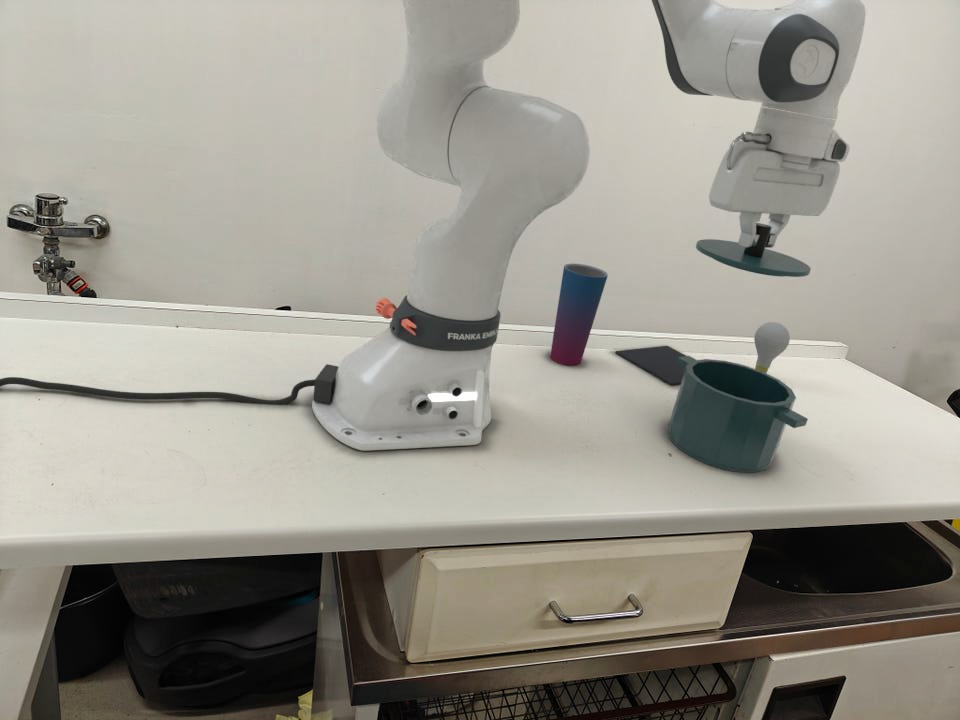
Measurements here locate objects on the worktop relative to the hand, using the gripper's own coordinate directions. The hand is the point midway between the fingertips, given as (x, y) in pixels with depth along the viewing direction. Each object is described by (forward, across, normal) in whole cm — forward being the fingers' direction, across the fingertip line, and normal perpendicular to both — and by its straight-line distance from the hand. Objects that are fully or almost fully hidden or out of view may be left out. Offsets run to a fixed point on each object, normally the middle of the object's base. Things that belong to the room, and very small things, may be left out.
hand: (755, 246), depth 94 cm
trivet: (+25, +10, +16) cm, 32 cm away
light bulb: (+26, +24, +8) cm, 36 cm away
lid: (+2, 0, 0) cm, 2 cm away
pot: (+25, -5, -7) cm, 27 cm away
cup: (+26, -8, +22) cm, 35 cm away
